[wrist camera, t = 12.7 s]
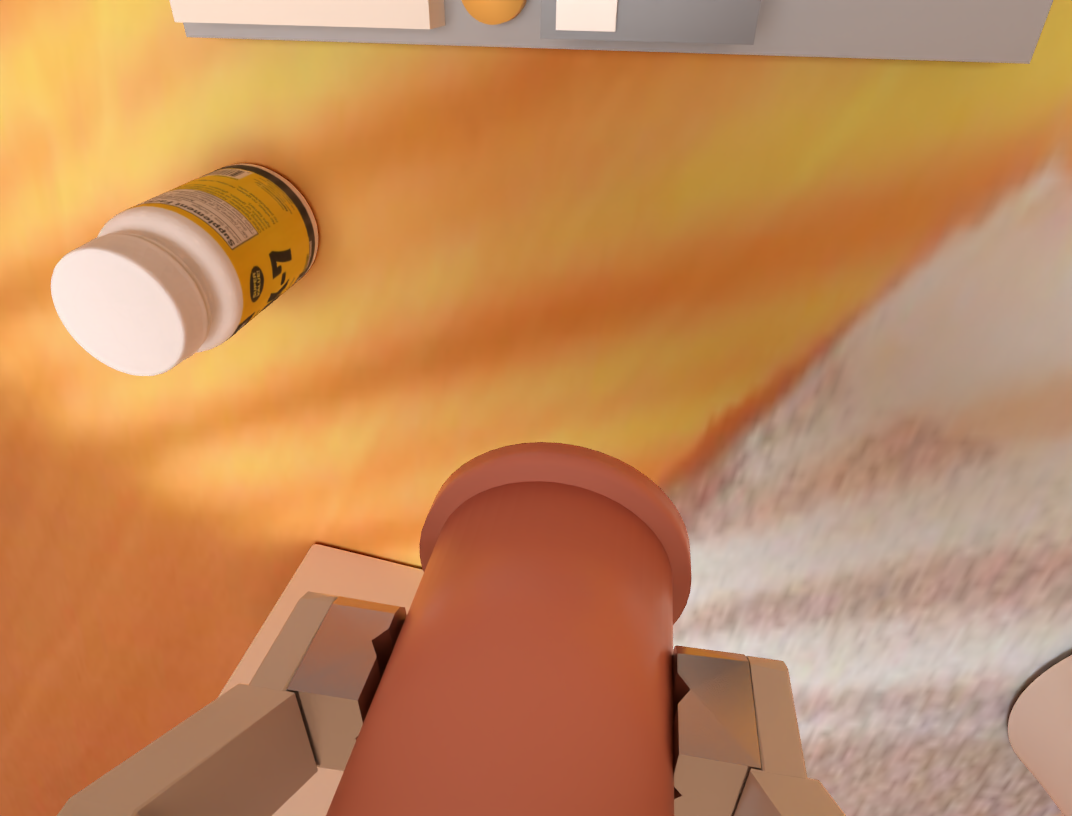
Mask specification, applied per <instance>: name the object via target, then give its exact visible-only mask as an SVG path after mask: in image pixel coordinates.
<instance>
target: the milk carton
mask: <svg viewBox="0 0 1072 816" xmlns="http://www.w3.org/2000/svg"><path fill="white" fill-rule="evenodd" d="M423 574H424V571H423V570H422V569H418V568H414V567H410V566H406V565H401V564H397V563H393V562H389V561H385V560H381V559H377V558H373V557H369V556H365V555H361V554H356V553H352V552H348V551H344V550H340V549H336V548H332V547H328V546H323V545H319V544H314V545H312V547H311V548H310V549H309V551H308V553H307V554H306V556H305V558H304V559H303V561H302V562H301V564H300V566H299V567H298V569H297V570H296V572H295V574H294V575H293V577H292V579H291V580H290V582H289V583H288V585H287V587H286V588H285V590H284V592H283V593H282V595H281V596H280V598H279V600H278V601H277V603H276V604H275V606H274V608H273V609H272V611H271V613H270V614H269V616H268V617H267V619H266V621H265V622H264V624H263V625H262V627H261V629H260V630H259V632H258V634H257V635H256V637H255V638H254V640H253V642H252V643H251V645H250V646H249V648H248V650H247V651H246V653H245V655H244V656H243V658H242V659H241V661H240V663H239V664H238V666H237V667H236V669H235V671H234V672H233V674H232V676H231V677H230V679H229V680H228V682H227V684H226V685H225V687H224V688H223V690H222V692H221V693H220V695H219V697H220V696H221V695H223V694H224V693H226V692H227V691H229V690H230V689H231V688H233V687H234V686H236V685H237V684H239V683H241V684H249V683H250V682H251V680H252V678H253V676H254V675H255V673H256V671H257V670H258V668H259V666H260V665H261V663H262V661H263V659H264V658H265V656H266V654H267V653H268V651H269V649H270V648H271V646H272V644H273V643H274V641H275V639H276V637H277V636H278V634H279V632H280V631H281V629H282V627H283V626H284V624H285V622H286V621H287V619H288V617H289V615H290V614H291V612H292V610H293V609H294V607H295V605H296V604H297V602H298V600H299V599H300V598H301V597H303V596H304V595H305V594H306V593H307V592H308V591H310V592H316V593H323V594H329V595H336V596H342V597H347V598H353V599H359V600H365V601H371V602H376V603H382V604H388V605H394V606H400V607H405V609H406V615H407V614H408V611H409V609H410V606H411V604H412V601H413V599H414V596H415V594H416V591H417V589H418V586H419V584H420V582H421V579H422V577H423ZM317 768H318V771H317V772H316V773H315V774H314V775H313V776H312V777H311V778H310V779H309V780H308V781H307V782H306V783H305V784H304V785H303V786H302V787H301V788H300V789H299V790H298V791H297V792H296V793H295V794H294V795H293V796H292V797H291V798H290V799H289V800H288V801H286V802H285V803H284V804H283V805H282V806H281V807H280V808H279V809H278V810H277V811H276V812H275V813H274V814H273V815H272V816H326V814H327V812H328V809H329V807H330V805H331V802H332V800H333V797H334V795H335V792H336V790H337V787H338V785H339V782H340V780H341V777H342V775H343V772H344V771H340V770H334V769H327V768H320V767H317Z"/></svg>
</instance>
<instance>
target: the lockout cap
mask: <svg viewBox="0 0 1072 816" xmlns="http://www.w3.org/2000/svg"><path fill="white" fill-rule="evenodd" d="M420 559H421V564H422V569H423V571H424V574H423V577H422V579H421V582H420V584H419V586H418V589H417V591H416V594H415V596H414V599H413V601H412V604H411V606H410V609H409V611H408V614H407V616H406V619H405V621H404V624H403V626H402V629H401V631H400V634H399V636H398V638H397V641H396V643H395V646H394V648H393V651H392V653H391V656H390V658H389V661H388V663H387V666H386V668H385V671H384V673H383V676H382V678H381V681H380V683H379V686H378V688H377V691H376V693H375V695H374V698H373V700H372V703H371V705H370V708H369V710H368V713H367V715H366V718H365V720H364V723H363V725H362V728H361V730H360V733H359V735H358V738H357V740H356V743H355V745H354V748H353V750H352V752H351V755H350V757H349V760H348V762H347V765H346V767H345V770H344V772H343V775H342V777H341V780H340V782H339V785H338V787H337V790H336V792H335V795H334V797H333V800H332V802H331V805H330V807H329V809H328V812H327V814H326V816H674V779H673V723H674V718H673V683H672V654H673V625H674V623H675V622H676V621H677V619H678V618H679V617H680V615H681V614H682V612H683V610H684V608H685V606H686V604H687V600H688V597H689V594H690V587H691V559H690V544H689V537H688V534H687V530H686V526H685V524H684V522H683V520H682V517H681V515H680V513H679V512H678V510H677V509H676V507H675V506H674V504H673V502H672V501H671V500H670V499H669V497H668V496H667V495H666V494H665V493H664V492H663V491H662V490H661V488H659V487H658V486H657V485H656V484H655V483H654V482H653V481H651V480H650V479H649V478H648V477H647V476H645V475H644V474H642V473H641V472H639V471H638V470H636V469H635V468H633V467H632V466H630V465H628V464H626V463H624V462H622V461H620V460H618V459H616V458H614V457H611V456H609V455H606V454H604V453H601V452H599V451H595V450H591V449H588V448H584V447H580V446H574V445H568V444H562V443H547V442H537V443H522V444H516V445H510V446H505V447H502V448H498V449H495V450H491V451H489V452H486V453H484V454H482V455H480V456H477V457H475V458H473V459H472V460H470V461H469V462H467V463H465V464H464V465H462V466H461V467H460V468H459V469H457V470H456V471H455V472H454V473H453V474H452V475H451V476H450V477H449V478H448V479H447V481H446V482H445V483H444V484H443V485H442V487H441V489H440V491H439V492H438V494H437V496H436V498H435V500H434V502H433V505H432V507H431V509H430V511H429V514H428V516H427V518H426V521H425V524H424V526H423V529H422V532H421V539H420Z"/></svg>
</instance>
